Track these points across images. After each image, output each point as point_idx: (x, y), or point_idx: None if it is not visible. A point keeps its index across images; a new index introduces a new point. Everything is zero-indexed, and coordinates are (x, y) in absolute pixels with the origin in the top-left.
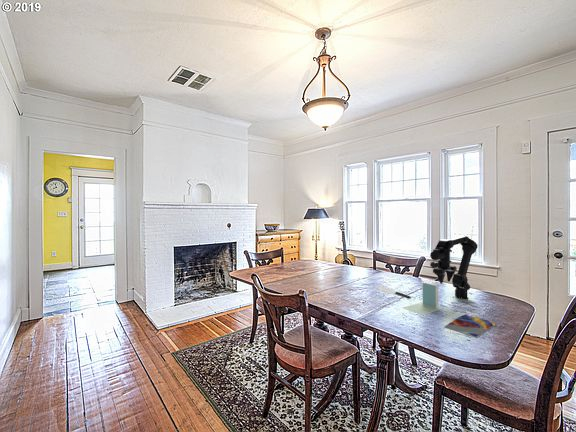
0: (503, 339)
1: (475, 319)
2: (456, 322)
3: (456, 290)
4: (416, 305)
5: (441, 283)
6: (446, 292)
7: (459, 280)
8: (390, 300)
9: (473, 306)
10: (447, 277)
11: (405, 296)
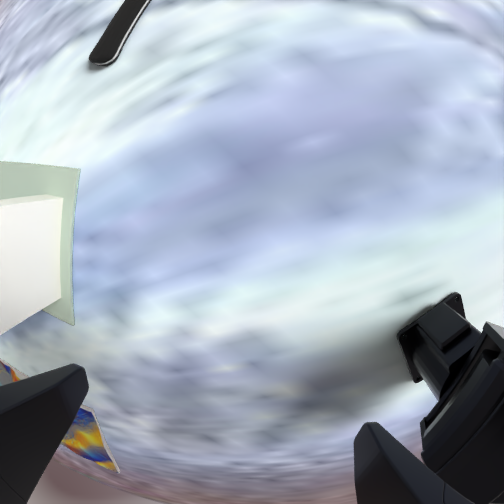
0: (54, 453)
1: (87, 433)
2: (15, 380)
3: (442, 348)
4: (15, 184)
5: (75, 385)
6: (491, 213)
7: (448, 469)
8: (30, 47)
9: (264, 435)
10: (393, 479)
11: (104, 32)
